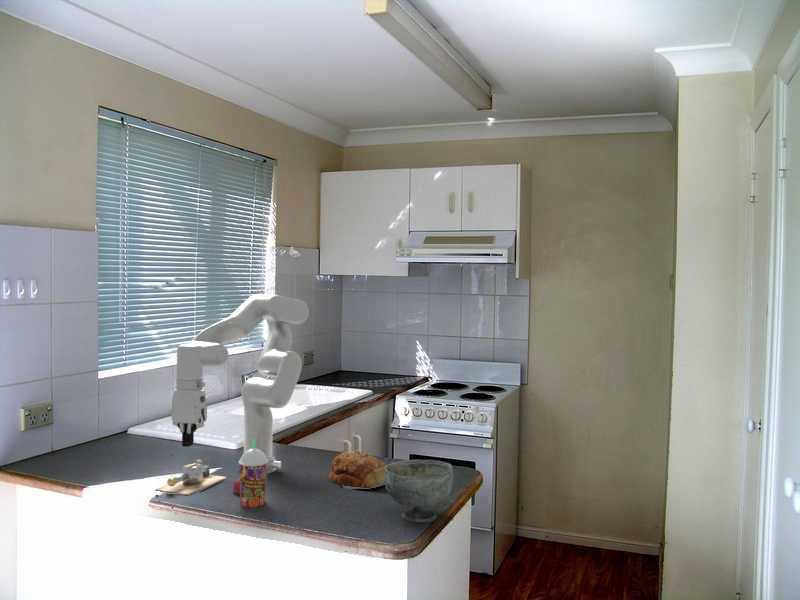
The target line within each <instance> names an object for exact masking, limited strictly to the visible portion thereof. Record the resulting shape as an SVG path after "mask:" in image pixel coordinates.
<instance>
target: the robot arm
mask: <svg viewBox="0 0 800 600" xmlns="http://www.w3.org/2000/svg"><path fill="white" fill-rule="evenodd" d="M309 312H310V311H309V307H308V304H307V303H306V302H305V301H304V300H301V299H298V298H292V297H288V296H283V295H280V294H267V293H266V294H265V293H257V294H253V295H251V296H250V297H249V298H247V299H246V300H245V301H244V302H243V303H242V304H241V305H240V306H238V308H236V310H235V311H234V312H232V314H231V315H229V316H228V317H226V318H225V319H223V320H220V321H218V322H216V323H214V324H211V325H210V326H208V327H206V328H205V329H203V330H202V331H200V332H199V333H198V334H197V335H196V336H195V337H194V338H192V339H191V341H190V342H188V343H183V344H180V345H178V346H177V350H176V375H175V376H176V379H175V382H176V383H175V389H174V391H173V394H172V401H171V412H170V413H171V414H170V415H171V417H170V418H171V421H172V425H173V426H175V427H178V429H179V431H180V433H181V442H182V443H181V446H182V447H183V448H184V447H186V448H187V447H191V446H193V445H194V439H195V438H194V437H195V436H194V435H195V433H196V431H197V430H198V429H201V428H204V427H205V422H206V421H207V420H208V419H207V418H208V406H207V405H208V404H207V397H206V396H207V395H206V392H205V391H206V390H205V389H203V388H204V387H205V386H206V383H205V382H204V381H203V374H204V373H203V371H204V370H203V368H204V367H208V368H218V367H219V368H220V367H222V366H223V365H224V364H226V363H227V361H228V359H229V350H228V348H227V347H226V346H225V345H223V344H226V343H229V342H230V343H231V342H236V341H239V340H241V339H245V338H247V337H248V336H249V335H250V333H252V332H253V331H254V330H255V328H257V326H258V325H260V324H261V323H262V321H264V320H266V322H267V325H268V326H267V327H268V337H267V339H266V341H265V344H264V346H263V349H262V351H261V353H260V356H259V359H258V362H257V367H256V368H257V371H258V372H259V373H260V375H262V376H266V377H258V376H255V377H250V378H248V379H246V380H245V382H243V384H242V386H241V399H242V406H243V413H244V414H243V416H244V417H243V419H244V421H243V454H244V453H245V452H246V451H247V450H249V449H253V439H255V449H259V450H261V451H262V452H263V453H264V454H265V456H266V458H267V460H268V467H267V475H268V474H271V473H273V472H276V471H277V469H281V467H282V461H281V460H280V461H279V460H276V457H275V456H273V428H274V427H273V425H274V424H273V423H274V422H273V421H274V418H273V413H272V410H271V408H272V409H282V408H285V407H286V406H288V403H290V400H291V398H292V396H293V393H294V390H295V388H296V387H297V384H298V381H299V378H300V375H301V374H302V373H301V372H302V368H303V366H302V365H303V362H302V358H301V356H300V354H298V352H296V351H293V350H291V349H290V348H291V346H292V342H293V335H292V332H291V329H290V326H289V325H301V324H303V323H305V322H306V321H307V319H308V317H309V314H310V313H309ZM270 377H272V378H270Z"/></svg>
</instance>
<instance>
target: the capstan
mask: <svg viewBox="0 0 800 600" xmlns="http://www.w3.org/2000/svg"><path fill="white" fill-rule="evenodd" d="M205 471H206V468H205V467H203V464H197V463H196V462H195V463H188V464H184V465H183V466H182V474H180V475H177V476H175V477H169V478H168V479H167V480H166V481H167V482H166V483H167V484H166V485H169V486H174V485H175V484H176V483H178V482H181V481H183V484H186V485H195V484H200V483H202V479H203V472H205Z"/></svg>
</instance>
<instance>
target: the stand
mask: <svg viewBox="0 0 800 600" xmlns="http://www.w3.org/2000/svg"><path fill="white" fill-rule="evenodd" d="M195 463H197V464H201V465H203V464H202V463H203V461H202V460H201V459H197V460H195ZM203 467H205V468H206V471H205V472H203V479H202V483H200V484H195V485H186V484H183V481H181V482H178V483H176V484H175V485H174V486H169V485H168V484H166V485H162V486H161V487H158V488H156V489H155V490H154V491H160V492H167V493H175V494H179V495H181V494H182V495H183V496H187V495H189V496H191V495H193V494H196V493H195V492H197V491H200V490H202V489H205V488H207V487H209V486H211V485H214V484H216V483H218V484H220V483H221V482H220V481H223V480H225V479H226V478H228V476H222V475H214V474H210V472H211V471H210V469H211V468H210V465H203ZM219 482H220V483H219ZM223 482H224V481H223ZM216 485H217V484H216ZM214 486H215V485H214Z"/></svg>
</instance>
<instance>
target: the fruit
mask: <svg viewBox="0 0 800 600" xmlns="http://www.w3.org/2000/svg"><path fill="white" fill-rule="evenodd" d="M232 492H233V493H234V494H235V495H240V477H238V478H237V479H236V480H235V481H234V482H233V484H232Z"/></svg>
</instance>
